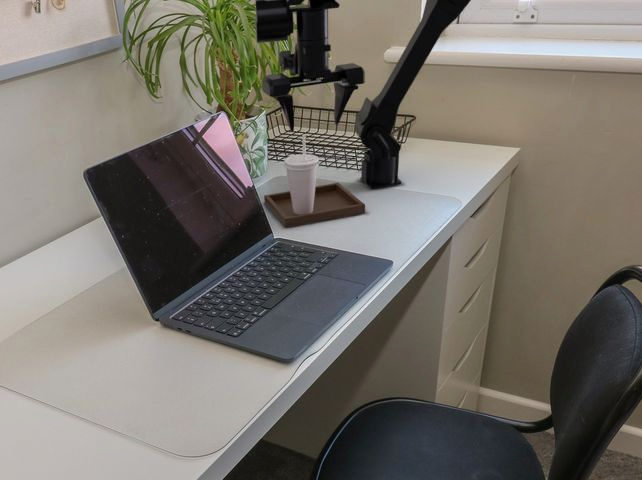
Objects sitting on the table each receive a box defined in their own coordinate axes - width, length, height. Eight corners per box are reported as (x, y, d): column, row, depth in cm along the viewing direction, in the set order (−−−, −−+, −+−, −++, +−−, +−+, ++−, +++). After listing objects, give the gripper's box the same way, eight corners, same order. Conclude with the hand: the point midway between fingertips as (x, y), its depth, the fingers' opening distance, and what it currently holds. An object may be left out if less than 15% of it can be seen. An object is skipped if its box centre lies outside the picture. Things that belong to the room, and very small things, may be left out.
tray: (338, 190, 139) (338, 182, 138) (365, 213, 128) (365, 204, 127) (264, 203, 136) (263, 195, 135) (285, 227, 126) (285, 219, 125)
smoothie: (315, 218, 127) (313, 140, 119) (282, 216, 129) (278, 139, 120) (323, 205, 132) (322, 129, 123) (291, 204, 134) (288, 129, 125)
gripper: (344, 26, 133) (343, 111, 142) (251, 38, 129) (257, 124, 139) (367, 33, 124) (365, 124, 133) (268, 47, 121) (273, 138, 130)
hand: (314, 127), depth 134 cm, fingers open, 9 cm apart
